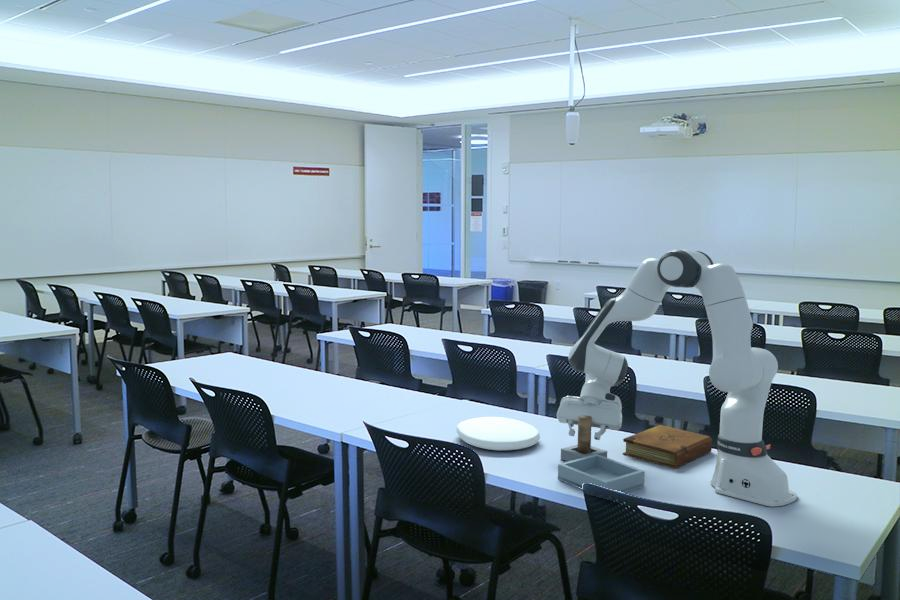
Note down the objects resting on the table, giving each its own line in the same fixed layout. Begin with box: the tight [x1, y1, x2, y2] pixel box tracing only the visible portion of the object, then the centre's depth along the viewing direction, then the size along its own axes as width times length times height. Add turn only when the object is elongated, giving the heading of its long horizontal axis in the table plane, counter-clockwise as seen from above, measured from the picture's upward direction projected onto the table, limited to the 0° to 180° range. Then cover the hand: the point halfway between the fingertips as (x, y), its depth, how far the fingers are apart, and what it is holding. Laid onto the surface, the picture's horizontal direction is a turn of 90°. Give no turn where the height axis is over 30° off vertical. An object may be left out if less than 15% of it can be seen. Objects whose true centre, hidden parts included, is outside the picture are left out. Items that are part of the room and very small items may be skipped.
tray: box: [557, 454, 646, 494], centre depth 208 cm, size 18×16×4 cm
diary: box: [622, 424, 713, 469], centre depth 235 cm, size 23×19×6 cm
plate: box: [456, 416, 541, 452], centre depth 246 cm, size 28×6×27 cm
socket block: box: [560, 444, 608, 462], centre depth 227 cm, size 10×10×4 cm
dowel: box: [577, 415, 592, 454], centre depth 226 cm, size 4×4×14 cm
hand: (583, 437), depth 226 cm, fingers open, 7 cm apart
